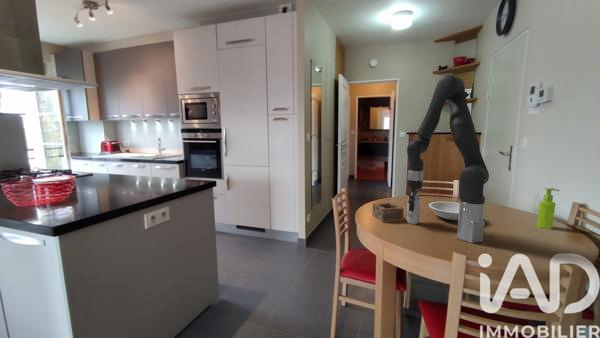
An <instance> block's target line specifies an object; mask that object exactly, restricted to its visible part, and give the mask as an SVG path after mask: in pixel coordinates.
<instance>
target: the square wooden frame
mask: <svg viewBox="0 0 600 338" xmlns="http://www.w3.org/2000/svg"><path fill="white" fill-rule="evenodd" d="M371 214H372V217H373V218H375V219H377V220H378V221H380V222H381V223H393V222H404V207H401V206H399V205H397V204H396V203H393V202H380V203H372V213H371Z"/></svg>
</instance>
